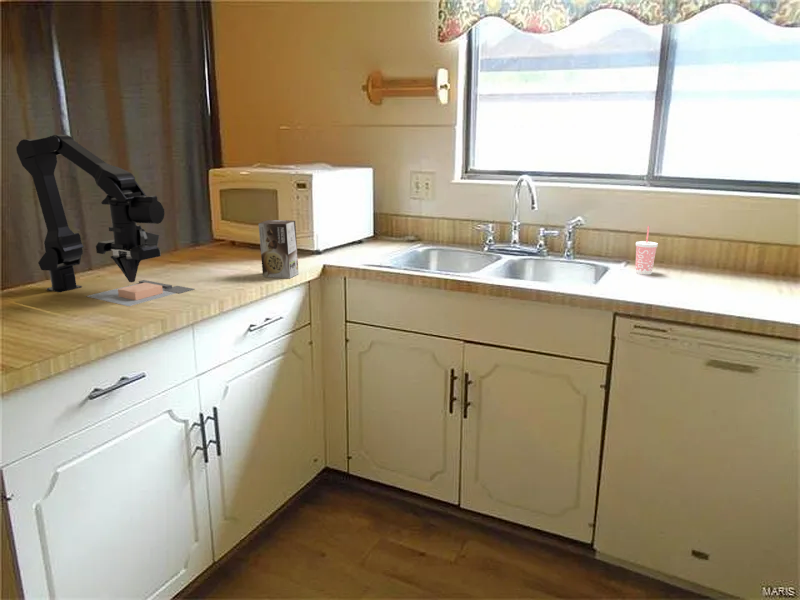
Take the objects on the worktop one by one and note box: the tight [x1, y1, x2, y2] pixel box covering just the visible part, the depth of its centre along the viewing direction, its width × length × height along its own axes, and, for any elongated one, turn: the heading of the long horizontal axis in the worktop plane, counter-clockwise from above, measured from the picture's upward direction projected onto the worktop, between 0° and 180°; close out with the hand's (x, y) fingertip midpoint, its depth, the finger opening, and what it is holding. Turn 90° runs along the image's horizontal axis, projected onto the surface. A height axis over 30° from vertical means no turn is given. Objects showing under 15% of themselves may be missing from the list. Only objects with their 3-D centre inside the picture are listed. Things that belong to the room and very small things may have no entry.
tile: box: [118, 283, 163, 300], centre depth 153 cm, size 2×8×7 cm
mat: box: [85, 282, 177, 307], centre depth 155 cm, size 18×16×1 cm
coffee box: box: [257, 219, 299, 279], centre depth 173 cm, size 9×6×16 cm
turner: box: [138, 279, 195, 295], centre depth 161 cm, size 19×5×1 cm, turn 59°
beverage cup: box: [634, 225, 659, 275], centre depth 174 cm, size 6×6×14 cm
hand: (132, 281), depth 154 cm, fingers closed
